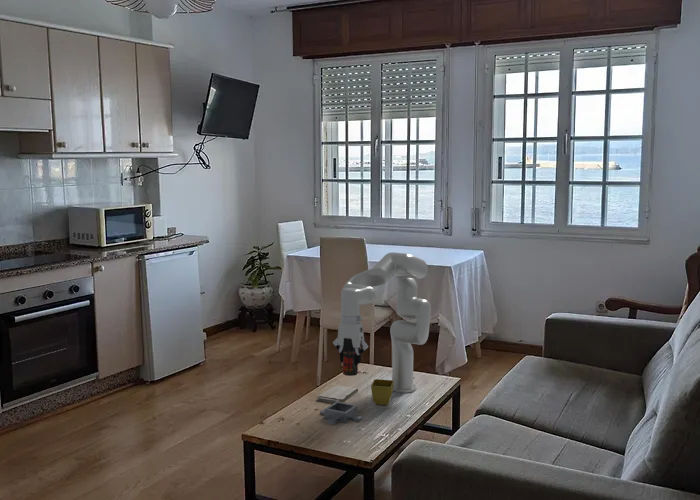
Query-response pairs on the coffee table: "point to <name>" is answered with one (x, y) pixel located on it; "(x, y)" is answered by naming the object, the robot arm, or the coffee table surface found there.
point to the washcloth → (337, 394)
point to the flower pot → (382, 391)
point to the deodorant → (349, 358)
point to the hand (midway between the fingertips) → (350, 362)
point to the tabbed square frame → (341, 413)
